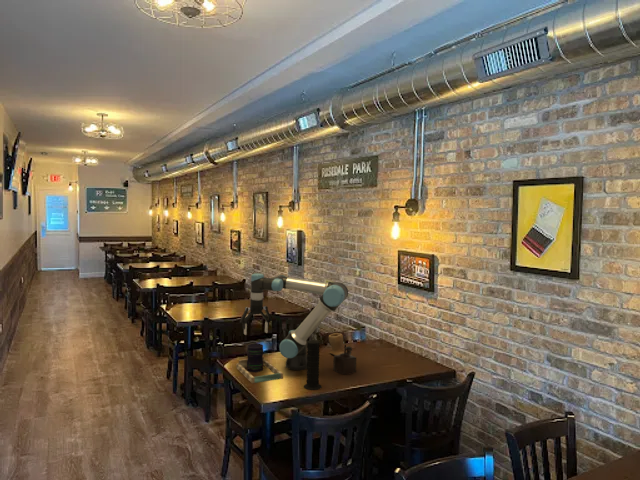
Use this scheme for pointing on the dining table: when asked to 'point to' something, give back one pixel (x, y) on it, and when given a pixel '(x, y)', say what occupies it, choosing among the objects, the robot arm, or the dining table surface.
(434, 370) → the dining table surface
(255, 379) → the shallow rimmed tray
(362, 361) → the dining table surface
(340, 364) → the dark boxy piece
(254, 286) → the robot arm
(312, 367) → the handle grip
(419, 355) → the dining table surface
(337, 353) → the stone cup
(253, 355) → the storage jar
